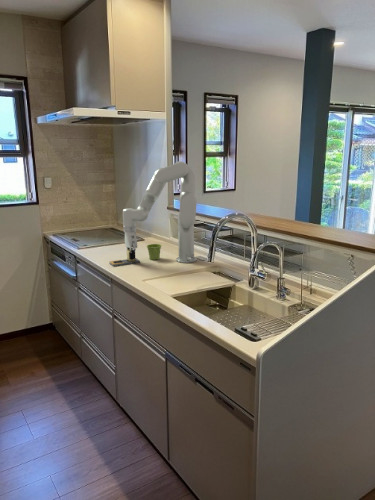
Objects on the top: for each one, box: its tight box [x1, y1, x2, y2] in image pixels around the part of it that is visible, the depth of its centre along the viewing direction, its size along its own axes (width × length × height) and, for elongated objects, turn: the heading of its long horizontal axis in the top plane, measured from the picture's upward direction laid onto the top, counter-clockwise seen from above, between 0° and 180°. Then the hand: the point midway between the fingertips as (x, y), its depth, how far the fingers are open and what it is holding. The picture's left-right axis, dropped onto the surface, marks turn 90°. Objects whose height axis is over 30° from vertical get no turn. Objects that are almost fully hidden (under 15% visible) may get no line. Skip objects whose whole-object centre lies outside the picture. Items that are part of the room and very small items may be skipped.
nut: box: [126, 248, 137, 262], centre depth 246 cm, size 4×4×8 cm
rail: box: [109, 257, 141, 267], centre depth 245 cm, size 17×7×1 cm, turn 117°
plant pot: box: [146, 243, 162, 261], centre depth 253 cm, size 9×9×9 cm
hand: (131, 257), depth 247 cm, fingers open, 4 cm apart
